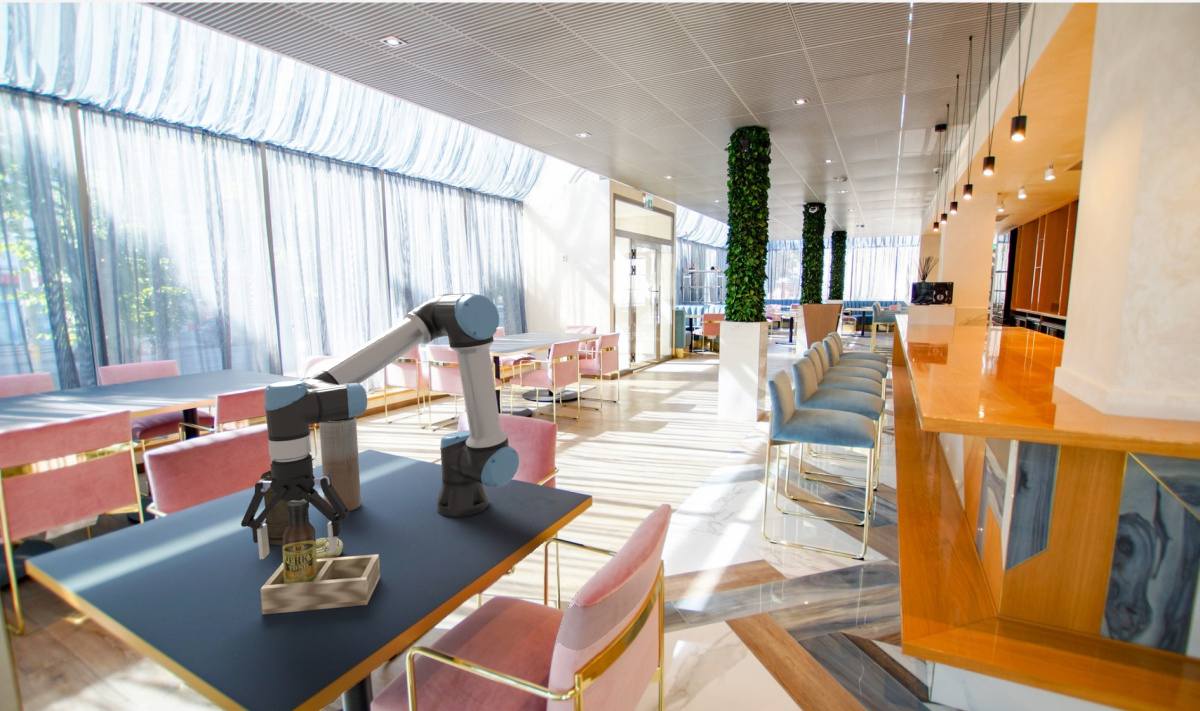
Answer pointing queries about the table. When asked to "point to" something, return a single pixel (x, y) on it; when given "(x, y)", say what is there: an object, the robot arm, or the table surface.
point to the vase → (341, 459)
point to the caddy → (324, 586)
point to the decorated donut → (327, 548)
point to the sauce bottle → (299, 545)
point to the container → (275, 515)
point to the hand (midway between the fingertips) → (299, 553)
